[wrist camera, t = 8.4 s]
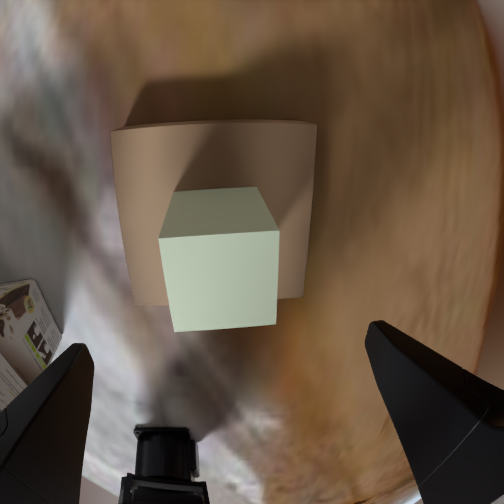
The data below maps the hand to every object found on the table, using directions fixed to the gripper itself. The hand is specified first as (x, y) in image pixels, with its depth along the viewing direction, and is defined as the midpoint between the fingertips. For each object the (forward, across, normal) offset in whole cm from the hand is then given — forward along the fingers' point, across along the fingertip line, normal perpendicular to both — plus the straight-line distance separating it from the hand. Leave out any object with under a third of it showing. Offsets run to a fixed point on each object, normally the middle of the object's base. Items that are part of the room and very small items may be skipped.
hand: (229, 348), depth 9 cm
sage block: (+10, 0, 0) cm, 10 cm away
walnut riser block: (+13, 0, 0) cm, 13 cm away
